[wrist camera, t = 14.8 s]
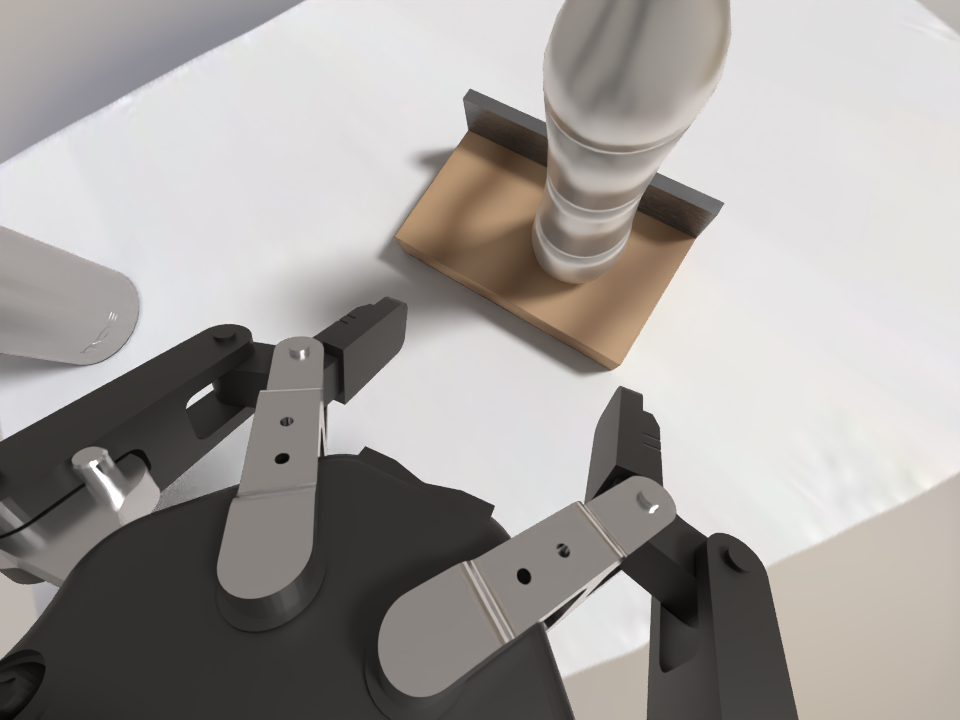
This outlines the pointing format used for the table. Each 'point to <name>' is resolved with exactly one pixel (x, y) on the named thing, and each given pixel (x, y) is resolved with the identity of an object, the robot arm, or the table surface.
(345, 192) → the table surface
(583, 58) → the silver bottle
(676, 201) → the rail
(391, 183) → the table surface
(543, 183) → the shelf board
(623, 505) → the robot arm
